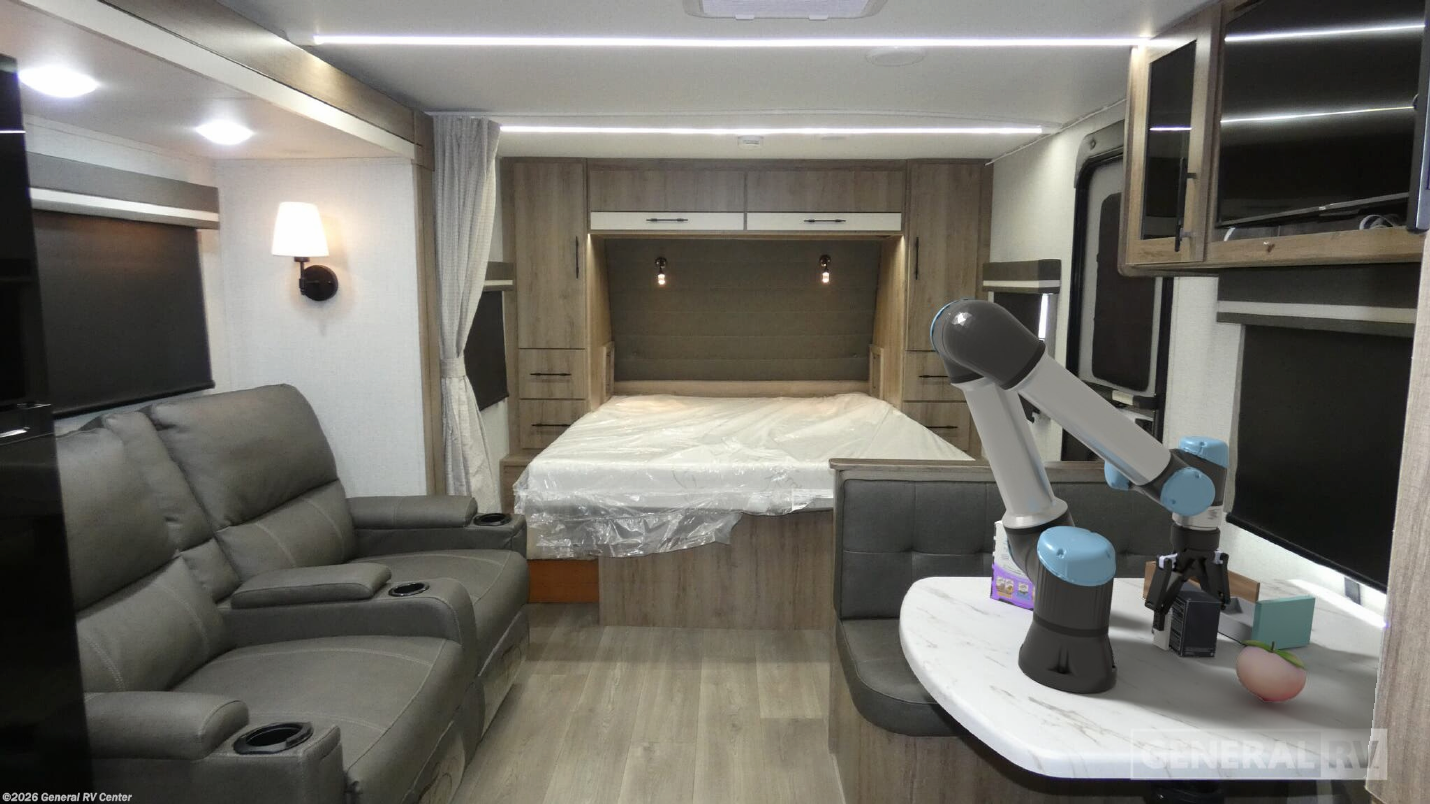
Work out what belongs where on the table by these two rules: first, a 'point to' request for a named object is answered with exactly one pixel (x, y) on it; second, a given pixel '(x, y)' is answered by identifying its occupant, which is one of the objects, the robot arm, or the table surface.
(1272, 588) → the table surface
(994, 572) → the candy box
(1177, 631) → the small box
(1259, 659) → the decorative fruit
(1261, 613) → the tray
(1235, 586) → the cubby
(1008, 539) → the robot arm
